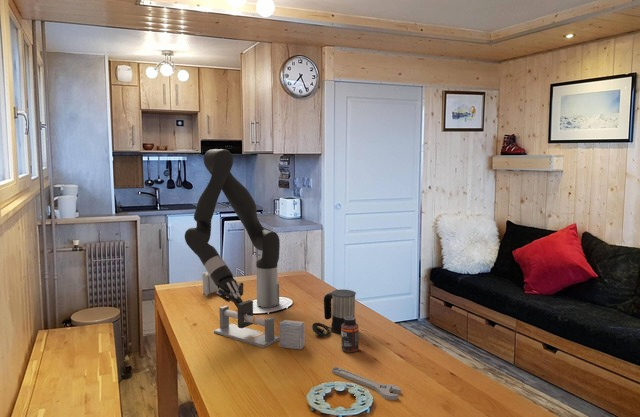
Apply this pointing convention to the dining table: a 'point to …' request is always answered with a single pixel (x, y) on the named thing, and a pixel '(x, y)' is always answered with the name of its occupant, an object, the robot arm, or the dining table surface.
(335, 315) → the milk frother
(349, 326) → the supplement bottle
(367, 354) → the dining table surface
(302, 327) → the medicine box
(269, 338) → the pipe stand
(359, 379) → the adjustable wrench
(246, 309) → the collar
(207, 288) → the grey rectangular block
